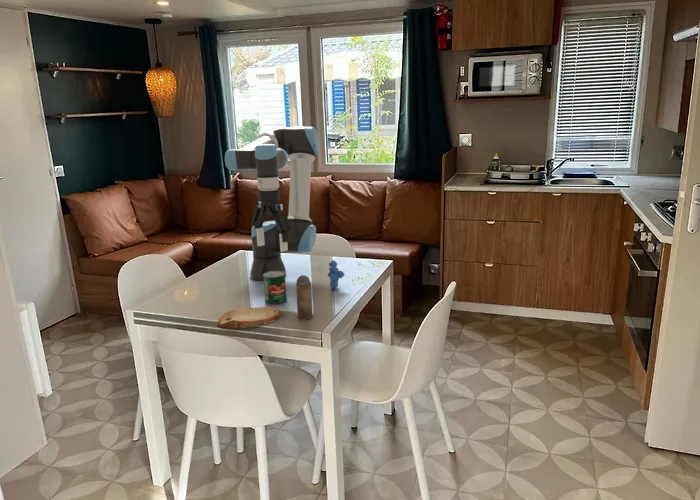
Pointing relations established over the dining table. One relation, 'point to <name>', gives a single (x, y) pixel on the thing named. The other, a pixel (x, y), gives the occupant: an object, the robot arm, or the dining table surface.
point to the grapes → (334, 274)
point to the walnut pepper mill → (304, 297)
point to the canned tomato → (275, 288)
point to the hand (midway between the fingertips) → (272, 248)
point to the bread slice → (248, 317)
